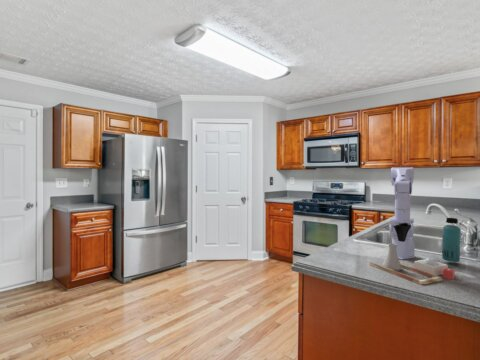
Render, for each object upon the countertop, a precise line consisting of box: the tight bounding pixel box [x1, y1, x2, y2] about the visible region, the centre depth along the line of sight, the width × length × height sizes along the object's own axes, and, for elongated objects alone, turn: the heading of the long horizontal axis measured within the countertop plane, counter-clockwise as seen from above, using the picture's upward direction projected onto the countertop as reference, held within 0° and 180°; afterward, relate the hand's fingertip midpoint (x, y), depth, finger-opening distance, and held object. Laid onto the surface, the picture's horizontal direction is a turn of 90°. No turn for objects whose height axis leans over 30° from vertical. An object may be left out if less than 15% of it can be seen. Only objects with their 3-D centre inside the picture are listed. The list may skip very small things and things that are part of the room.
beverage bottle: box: [441, 217, 461, 263], centre depth 125 cm, size 6×7×20 cm
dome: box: [423, 257, 438, 266], centre depth 114 cm, size 5×5×5 cm
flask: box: [381, 242, 403, 272], centre depth 118 cm, size 7×7×10 cm
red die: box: [442, 267, 456, 281], centre depth 108 cm, size 3×3×3 cm
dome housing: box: [413, 259, 449, 276], centre depth 114 cm, size 8×8×4 cm
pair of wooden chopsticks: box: [369, 261, 443, 285], centre depth 114 cm, size 11×23×1 cm, turn 22°
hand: (401, 241), depth 121 cm, fingers closed
